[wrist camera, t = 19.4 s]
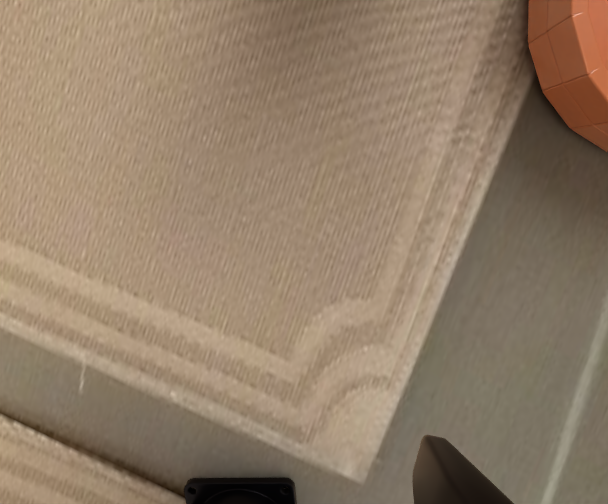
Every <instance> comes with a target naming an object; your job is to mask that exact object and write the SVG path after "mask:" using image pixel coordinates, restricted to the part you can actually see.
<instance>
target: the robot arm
mask: <svg viewBox="0 0 608 504" xmlns="http://www.w3.org/2000/svg"><path fill="white" fill-rule="evenodd" d="M192 487H194V488H195V489H193V488H192ZM283 487H288V488H289V489H284V488H283ZM184 492H185V498H186V504H297V502H296V493H295V485H294V482H293V481H292V480H291V479H289V478H193V479H190V480H188V482H187V484H186V486H185V488H184ZM413 494H414V504H514V503H513V502H512V501H511V500H510V499H508V498H507V497H506V496H505V495H504V494H503V493H502V492H501V491H500V490H499V489H498V488H497V487H496V486H495V485H494V484H493V483H492V482H491V481H490V480H488V479H487V478H486V477H485V476H484V475H483V474H482V473H481V472H480V471H479V470H478V469H477V468H476V467H475V466H474V465H473V464H472V463H471V462H469V461H468V460H467V459H466V458H465V457H464V456H463V455H462V454H461V453H460V452H459V451H458V450H457V449H456V448H455V447H454V446H453V445H452V444H451V443H449V442H448V441H447V440H446V439H444V438H440V437H436V436H431V435H425V436H424V437H423V439H422V441H421V444H420V448H419V451H418V455H417V459H416V462H415V466H414V470H413Z"/></svg>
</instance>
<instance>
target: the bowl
mask: <svg viewBox="0 0 608 504" xmlns="http://www.w3.org/2000/svg"><path fill="white" fill-rule="evenodd" d="M528 43H529V49H530V53H531V56H532V59H533V62H534V66H535V69H536V72H537V75H538V79H539V82H540V85H541V88H542V90H543V93H544V95H545V96H546V97H547V99H548V100H549V101H550V103H551V104H552V105H553V107H554V108H555V109H556V111H557V112H558V113H559V115H560V116H561V117H562V119H563V120H564V121H565V123H566V124H567V125H568V127H569V128H571V129H572V130H573V131H575V132H576V133H578V134H579V135H581V136H583V137H584V138H586V139H587V140H589V141H590V142H592V143H594V144H595V145H597V146H598V147H600V148H601V149H603V150H605V151H606V152H608V0H529V11H528Z"/></svg>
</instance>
